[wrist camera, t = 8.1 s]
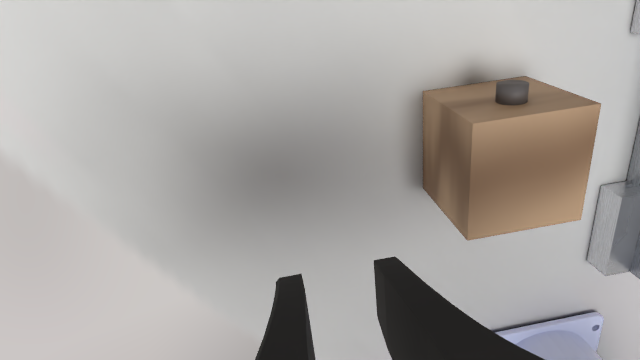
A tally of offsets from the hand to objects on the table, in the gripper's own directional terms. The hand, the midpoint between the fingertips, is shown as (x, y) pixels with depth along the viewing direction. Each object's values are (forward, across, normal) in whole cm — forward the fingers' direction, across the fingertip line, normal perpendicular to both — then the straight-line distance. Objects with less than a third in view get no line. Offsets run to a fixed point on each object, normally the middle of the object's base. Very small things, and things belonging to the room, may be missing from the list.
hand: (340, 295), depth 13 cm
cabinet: (+10, -8, 0) cm, 13 cm away
